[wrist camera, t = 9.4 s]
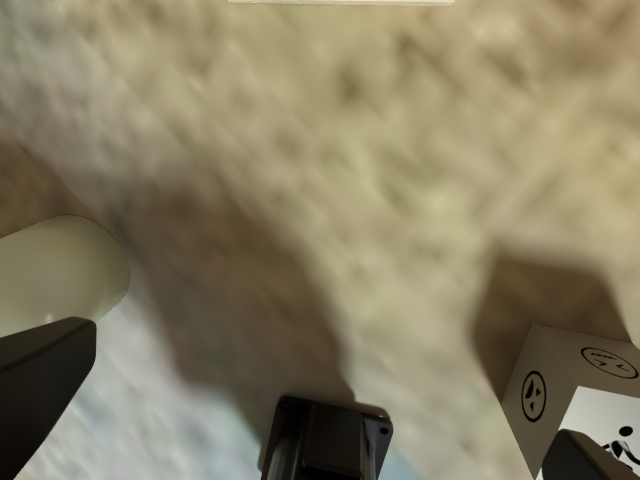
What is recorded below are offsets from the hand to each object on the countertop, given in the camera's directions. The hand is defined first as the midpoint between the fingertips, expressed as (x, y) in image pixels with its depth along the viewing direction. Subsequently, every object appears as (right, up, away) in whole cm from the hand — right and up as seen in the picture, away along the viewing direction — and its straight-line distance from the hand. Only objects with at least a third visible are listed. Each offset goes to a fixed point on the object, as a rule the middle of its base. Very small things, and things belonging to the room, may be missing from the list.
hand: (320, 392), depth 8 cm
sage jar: (-13, +2, +15) cm, 19 cm away
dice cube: (+13, -4, +14) cm, 19 cm away
